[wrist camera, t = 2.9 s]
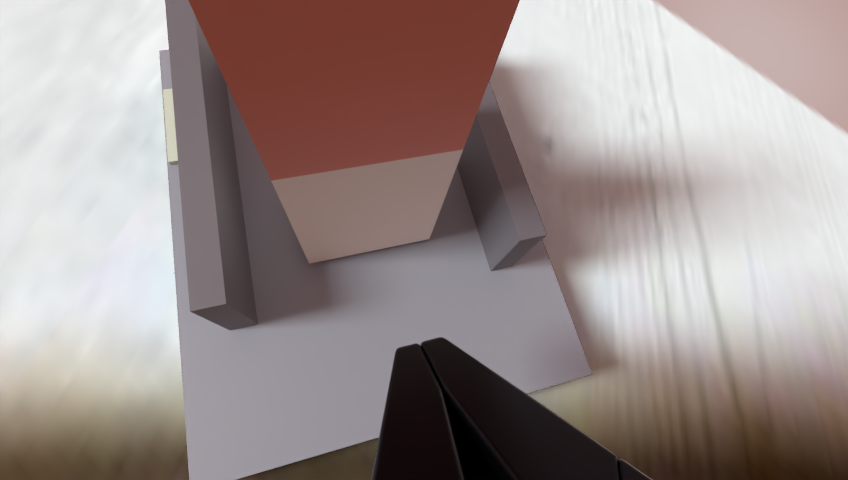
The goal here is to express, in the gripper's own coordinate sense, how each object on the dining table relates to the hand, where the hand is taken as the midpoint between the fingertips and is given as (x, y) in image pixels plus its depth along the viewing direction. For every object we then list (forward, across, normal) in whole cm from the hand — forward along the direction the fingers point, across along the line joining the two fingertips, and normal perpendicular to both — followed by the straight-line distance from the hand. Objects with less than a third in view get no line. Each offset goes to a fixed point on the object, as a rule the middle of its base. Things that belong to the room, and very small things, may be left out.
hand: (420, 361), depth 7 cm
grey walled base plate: (+9, 0, +1) cm, 9 cm away
